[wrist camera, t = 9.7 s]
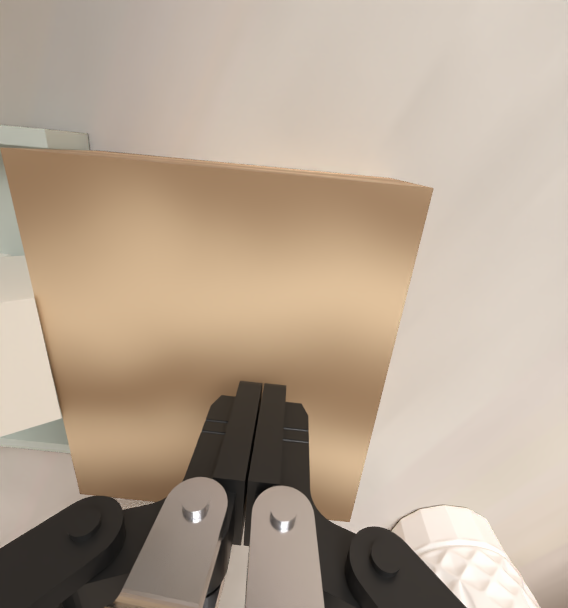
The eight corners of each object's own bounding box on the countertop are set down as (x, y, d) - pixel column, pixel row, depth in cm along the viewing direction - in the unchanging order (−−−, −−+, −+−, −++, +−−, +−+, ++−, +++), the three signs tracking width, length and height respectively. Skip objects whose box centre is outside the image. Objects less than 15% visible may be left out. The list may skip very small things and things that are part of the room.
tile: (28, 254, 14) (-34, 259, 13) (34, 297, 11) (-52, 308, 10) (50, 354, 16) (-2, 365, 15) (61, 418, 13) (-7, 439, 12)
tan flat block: (99, 151, 14) (-1, 147, 9) (389, 178, 14) (433, 188, 9) (132, 415, 19) (80, 494, 15) (338, 435, 19) (349, 522, 15)
